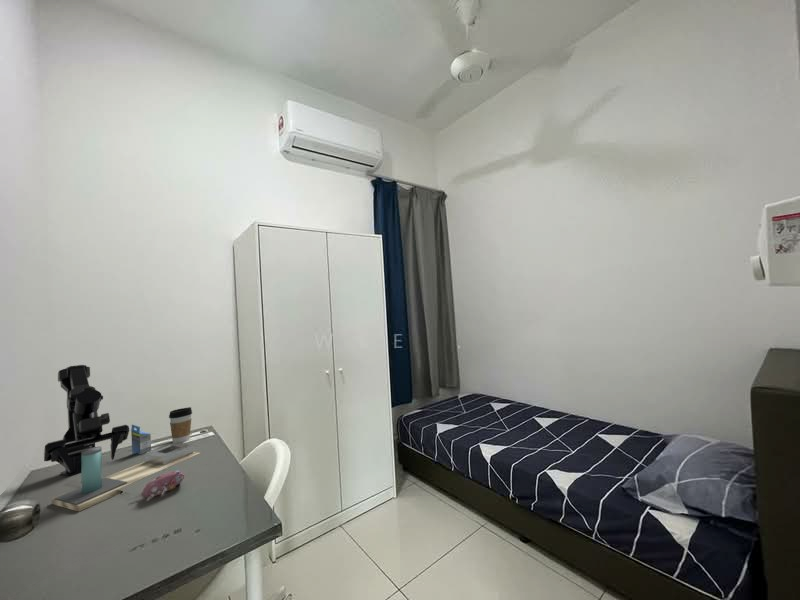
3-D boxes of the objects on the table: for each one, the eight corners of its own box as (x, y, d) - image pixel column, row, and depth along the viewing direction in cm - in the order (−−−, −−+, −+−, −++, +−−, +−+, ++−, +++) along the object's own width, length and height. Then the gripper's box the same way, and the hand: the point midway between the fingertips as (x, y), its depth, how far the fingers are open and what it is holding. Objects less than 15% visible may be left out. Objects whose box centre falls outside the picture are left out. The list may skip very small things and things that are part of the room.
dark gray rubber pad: (54, 499, 90) (54, 497, 90) (105, 478, 101) (105, 477, 101) (76, 505, 86) (76, 503, 86) (127, 483, 97) (127, 481, 97)
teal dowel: (85, 488, 95) (85, 449, 96) (104, 484, 97) (103, 445, 98) (78, 495, 91) (78, 453, 92) (98, 490, 93) (98, 449, 94)
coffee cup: (184, 447, 130) (183, 411, 131) (164, 448, 130) (163, 412, 131) (197, 439, 138) (196, 405, 139) (178, 440, 138) (178, 407, 139)
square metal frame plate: (144, 462, 112) (144, 454, 113) (175, 450, 122) (175, 442, 123) (163, 465, 108) (163, 457, 109) (193, 452, 119) (193, 444, 119)
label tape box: (152, 454, 124) (151, 423, 125) (139, 458, 121) (139, 426, 122) (143, 451, 129) (142, 421, 130) (130, 454, 125) (130, 424, 126)
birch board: (51, 503, 91) (51, 498, 91) (175, 453, 123) (174, 449, 123) (79, 511, 85) (79, 506, 85) (200, 456, 118) (200, 452, 118)
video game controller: (144, 506, 88) (147, 487, 87) (140, 495, 91) (143, 476, 89) (184, 490, 96) (187, 471, 95) (179, 480, 99) (182, 462, 97)
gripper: (45, 416, 90) (48, 462, 83) (127, 400, 105) (136, 438, 98) (42, 438, 95) (45, 484, 87) (122, 420, 109) (130, 458, 102)
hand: (92, 464), depth 93 cm, fingers open, 9 cm apart
